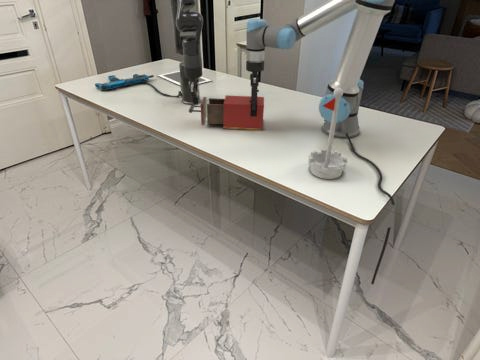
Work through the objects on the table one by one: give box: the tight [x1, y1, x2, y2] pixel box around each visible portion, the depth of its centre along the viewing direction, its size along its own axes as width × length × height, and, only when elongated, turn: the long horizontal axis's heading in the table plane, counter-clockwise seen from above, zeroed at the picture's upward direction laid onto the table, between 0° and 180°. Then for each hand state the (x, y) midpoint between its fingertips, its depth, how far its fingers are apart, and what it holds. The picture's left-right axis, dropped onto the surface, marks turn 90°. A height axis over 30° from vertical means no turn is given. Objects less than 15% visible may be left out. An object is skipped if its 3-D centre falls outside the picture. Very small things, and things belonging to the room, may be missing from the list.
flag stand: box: [307, 88, 348, 180], centre depth 113 cm, size 13×13×30 cm
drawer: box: [188, 96, 225, 126], centre depth 153 cm, size 22×10×10 cm, turn 87°
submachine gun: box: [94, 73, 155, 91], centre depth 208 cm, size 34×4×25 cm
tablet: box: [157, 70, 213, 87], centre depth 215 cm, size 32×20×1 cm, turn 41°
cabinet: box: [222, 94, 265, 131], centre depth 152 cm, size 17×11×11 cm, turn 87°
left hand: (195, 104), depth 152 cm, fingers closed
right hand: (253, 111), depth 152 cm, fingers closed on cabinet, 11 cm apart
